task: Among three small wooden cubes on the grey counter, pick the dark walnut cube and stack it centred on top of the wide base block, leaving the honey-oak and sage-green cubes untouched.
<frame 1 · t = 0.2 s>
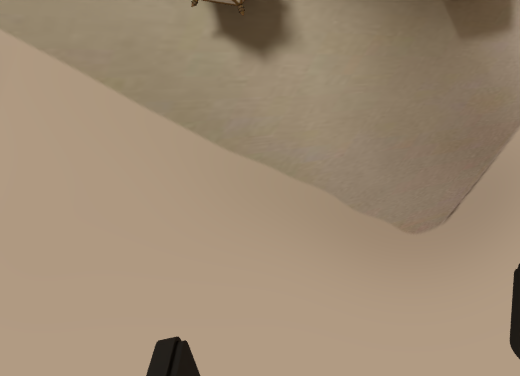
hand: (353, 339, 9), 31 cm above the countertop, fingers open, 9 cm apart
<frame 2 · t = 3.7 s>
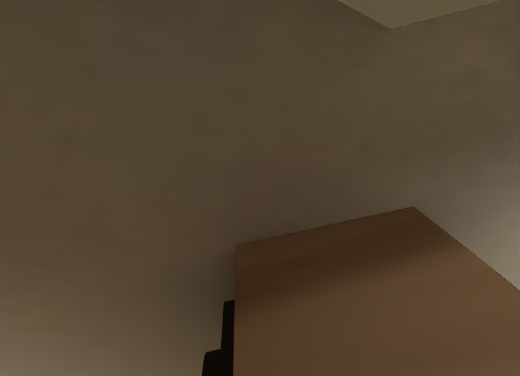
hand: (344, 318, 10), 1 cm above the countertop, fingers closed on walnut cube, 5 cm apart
walnut cube: (336, 298, 11), on the countertop, touching gripper
when the fingers open (6 cm above the countertop, at t = 8.1 s): walnut cube drops 1 cm, resting on base block.
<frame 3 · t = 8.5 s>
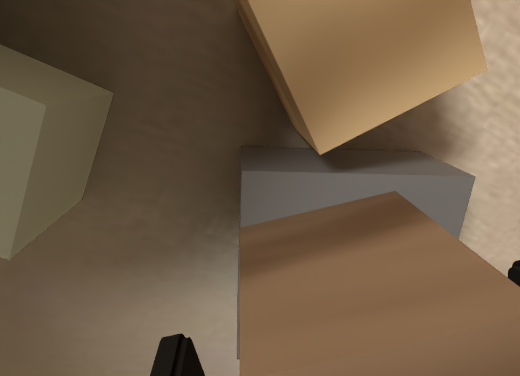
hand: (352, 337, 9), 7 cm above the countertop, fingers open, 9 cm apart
sage cube: (36, 124, 13), on the countertop, touching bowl
oak cube: (322, 40, 13), on the countertop
base block: (321, 227, 16), on the countertop, touching walnut cube
walnut cube: (329, 274, 12), point 4 cm above the countertop, touching base block
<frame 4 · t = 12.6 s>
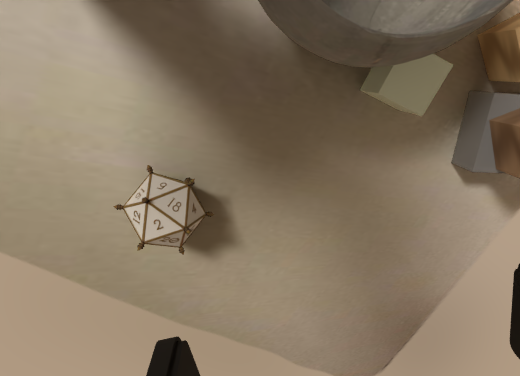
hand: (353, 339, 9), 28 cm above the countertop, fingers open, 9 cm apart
sage cube: (391, 78, 35), on the countertop, touching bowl
oak cube: (505, 46, 34), on the countertop
base block: (491, 129, 37), on the countertop
walnut cube: (519, 135, 34), point 4 cm above the countertop
game die: (173, 196, 38), on the countertop
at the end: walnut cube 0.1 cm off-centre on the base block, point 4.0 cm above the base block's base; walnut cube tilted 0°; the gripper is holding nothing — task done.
